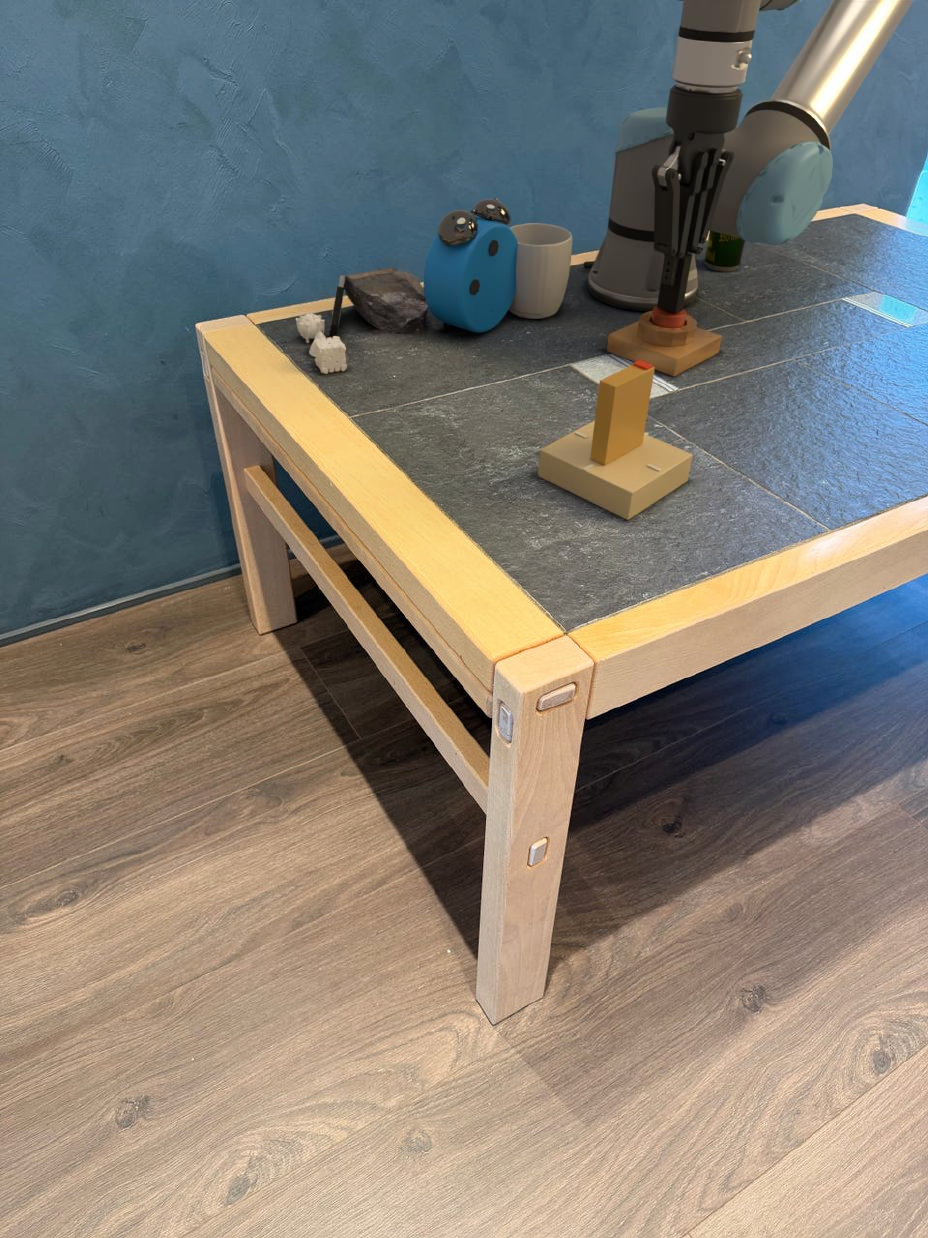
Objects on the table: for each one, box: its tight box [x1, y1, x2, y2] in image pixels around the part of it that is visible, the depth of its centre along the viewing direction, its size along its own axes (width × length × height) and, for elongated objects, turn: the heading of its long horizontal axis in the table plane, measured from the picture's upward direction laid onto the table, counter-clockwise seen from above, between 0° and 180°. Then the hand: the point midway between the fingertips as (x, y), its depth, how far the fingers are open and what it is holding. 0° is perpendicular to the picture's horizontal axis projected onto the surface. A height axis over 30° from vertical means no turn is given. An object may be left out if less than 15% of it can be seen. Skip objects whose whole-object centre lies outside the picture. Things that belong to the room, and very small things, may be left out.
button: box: [651, 306, 687, 329], centre depth 110 cm, size 4×4×2 cm
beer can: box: [703, 230, 746, 273], centre depth 134 cm, size 5×5×12 cm
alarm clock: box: [423, 197, 518, 334], centre depth 113 cm, size 13×6×15 cm, turn 143°
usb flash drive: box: [328, 274, 346, 338], centre depth 116 cm, size 9×5×1 cm
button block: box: [606, 311, 723, 377], centre depth 112 cm, size 10×10×4 cm
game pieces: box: [295, 312, 348, 375], centre depth 110 cm, size 12×3×3 cm, turn 22°
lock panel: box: [537, 420, 694, 521], centre depth 88 cm, size 11×10×3 cm
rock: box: [343, 267, 429, 336], centre depth 118 cm, size 14×11×5 cm
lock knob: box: [590, 360, 655, 465], centre depth 85 cm, size 6×2×8 cm, turn 135°
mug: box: [508, 222, 573, 320], centre depth 120 cm, size 13×9×10 cm
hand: (669, 308), depth 109 cm, fingers closed
